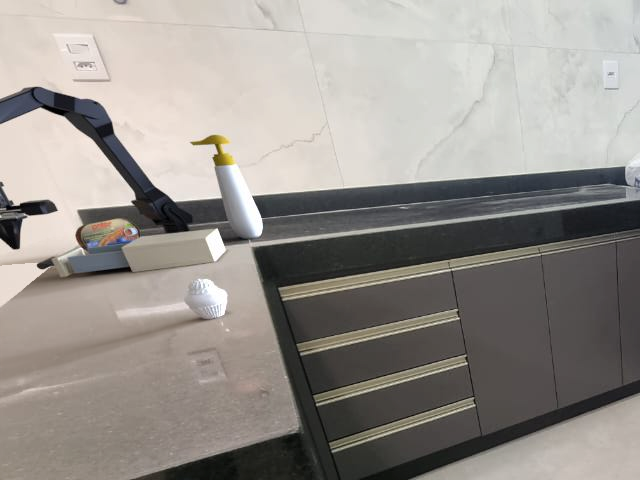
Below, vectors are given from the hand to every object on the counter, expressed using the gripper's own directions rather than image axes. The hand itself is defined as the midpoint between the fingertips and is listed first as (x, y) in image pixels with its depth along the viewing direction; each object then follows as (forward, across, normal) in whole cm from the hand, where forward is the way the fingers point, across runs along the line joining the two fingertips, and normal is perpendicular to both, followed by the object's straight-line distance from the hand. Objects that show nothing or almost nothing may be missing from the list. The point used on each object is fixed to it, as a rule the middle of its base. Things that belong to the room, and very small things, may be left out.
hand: (16, 249), depth 123 cm
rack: (+6, +13, 0) cm, 15 cm away
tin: (+8, +7, +30) cm, 32 cm away
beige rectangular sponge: (+7, +29, 0) cm, 30 cm away
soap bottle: (+8, +40, +25) cm, 48 cm away
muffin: (+7, +46, -59) cm, 75 cm away
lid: (+7, +15, +12) cm, 20 cm away
